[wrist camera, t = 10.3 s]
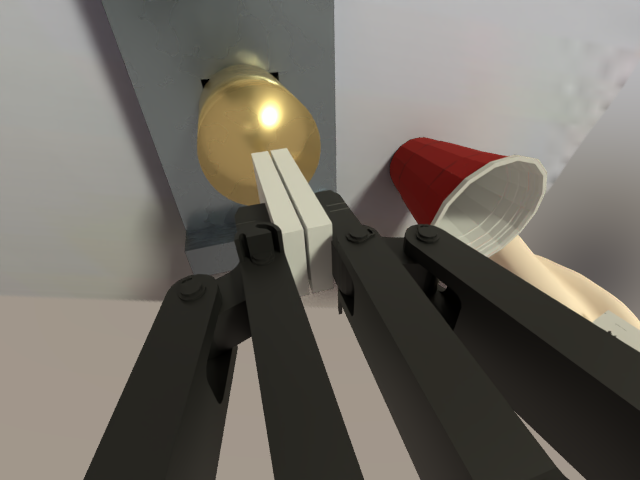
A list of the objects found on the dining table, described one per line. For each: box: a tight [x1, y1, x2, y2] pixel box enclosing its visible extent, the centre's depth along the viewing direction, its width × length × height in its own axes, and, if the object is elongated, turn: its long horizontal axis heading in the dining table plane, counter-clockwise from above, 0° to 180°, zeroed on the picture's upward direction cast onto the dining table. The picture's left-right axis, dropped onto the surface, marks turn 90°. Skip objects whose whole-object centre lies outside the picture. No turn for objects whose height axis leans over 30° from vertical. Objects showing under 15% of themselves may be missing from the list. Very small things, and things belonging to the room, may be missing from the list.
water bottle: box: [489, 235, 640, 352], centre depth 33 cm, size 10×9×28 cm
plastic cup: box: [390, 137, 547, 258], centre depth 30 cm, size 11×11×12 cm
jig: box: [101, 0, 336, 275], centre depth 24 cm, size 24×14×6 cm, turn 4°
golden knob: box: [197, 64, 321, 206], centre depth 22 cm, size 7×7×10 cm
